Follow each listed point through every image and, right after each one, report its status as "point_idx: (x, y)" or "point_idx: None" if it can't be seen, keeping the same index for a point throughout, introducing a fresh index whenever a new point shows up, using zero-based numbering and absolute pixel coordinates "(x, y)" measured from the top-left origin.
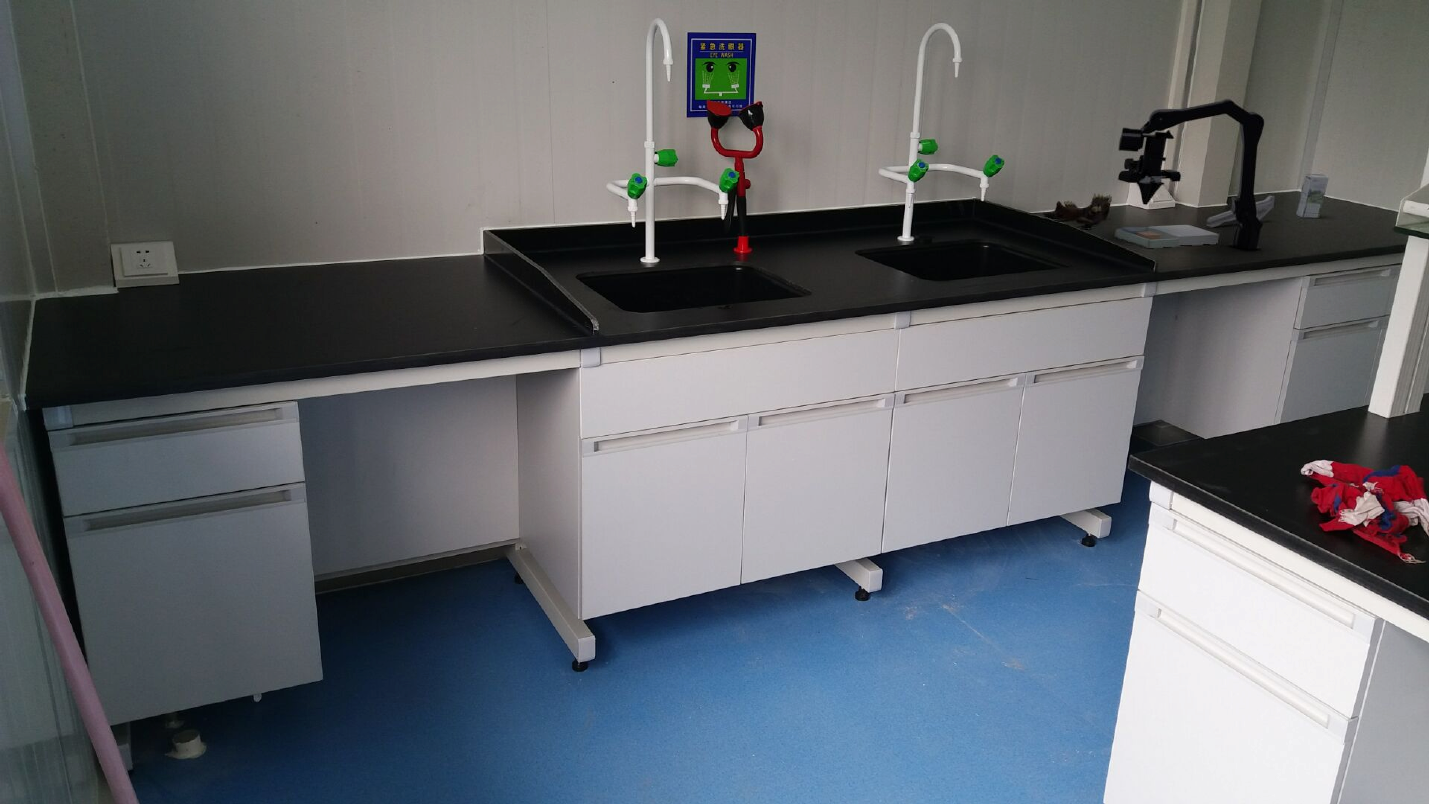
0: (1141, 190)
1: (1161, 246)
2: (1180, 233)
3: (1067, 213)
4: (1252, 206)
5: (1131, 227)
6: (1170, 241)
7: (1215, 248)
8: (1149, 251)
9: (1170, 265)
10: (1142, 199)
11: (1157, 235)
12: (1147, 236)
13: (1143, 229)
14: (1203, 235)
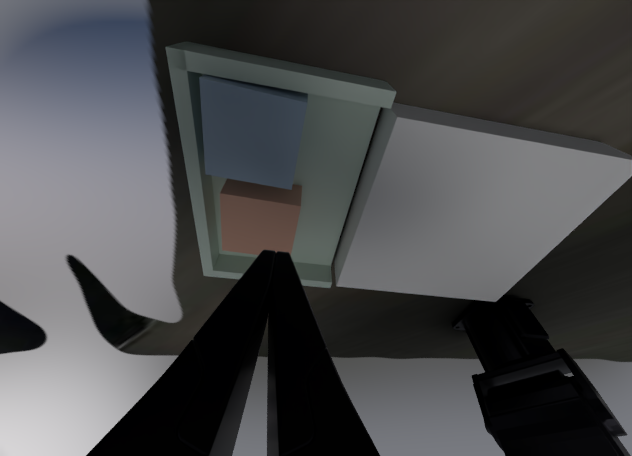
0: (164, 399)
1: None
2: (392, 263)
3: None
4: None
5: (266, 102)
6: None
7: (416, 298)
8: (197, 272)
9: (171, 343)
10: (240, 284)
11: None
12: (230, 247)
13: (368, 103)
14: (437, 295)
